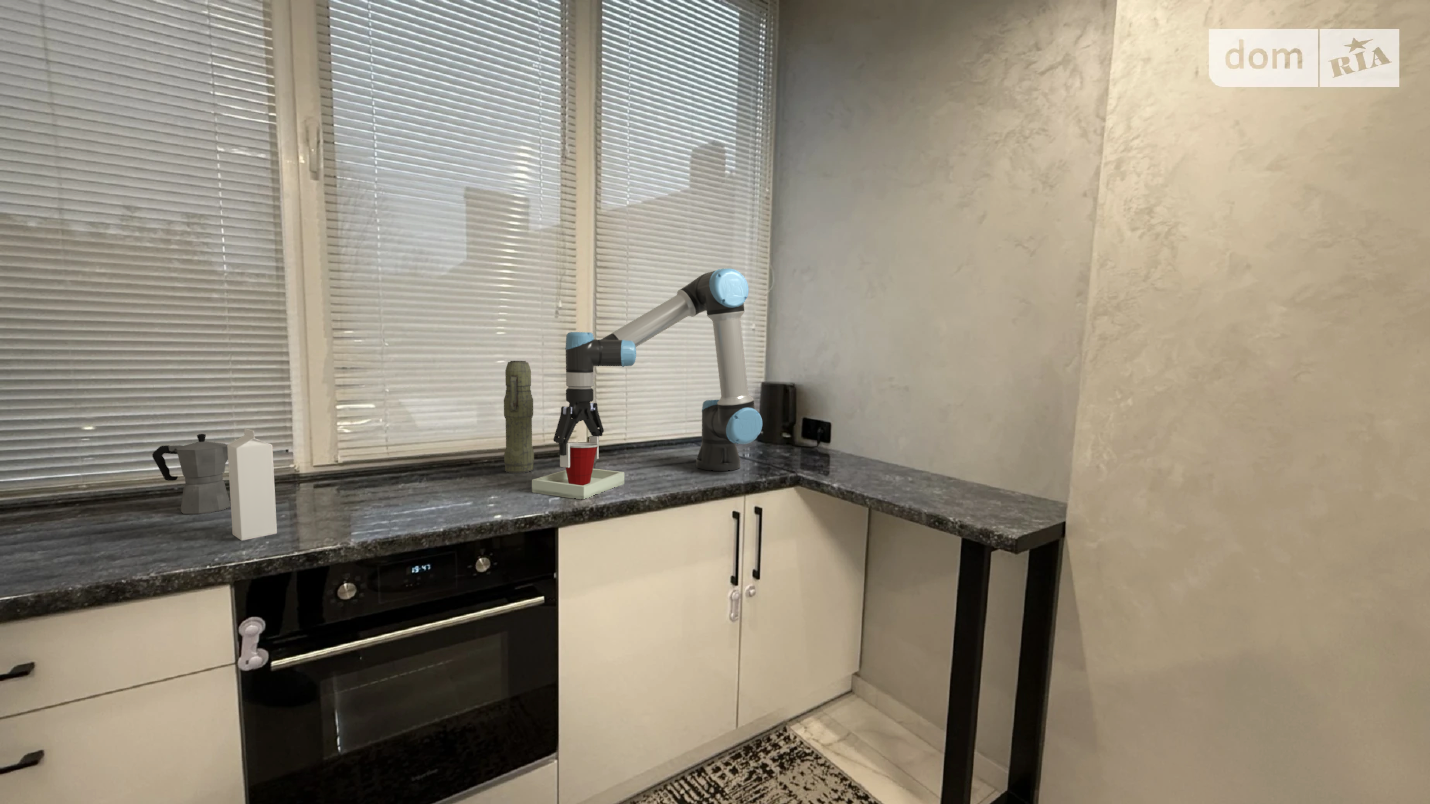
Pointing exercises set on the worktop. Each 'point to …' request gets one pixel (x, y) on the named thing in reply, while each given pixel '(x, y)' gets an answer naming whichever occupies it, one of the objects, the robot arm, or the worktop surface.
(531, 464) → the thermos
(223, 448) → the coffeepot
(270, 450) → the milk
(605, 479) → the tray
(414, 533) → the worktop surface
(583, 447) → the plastic cup
